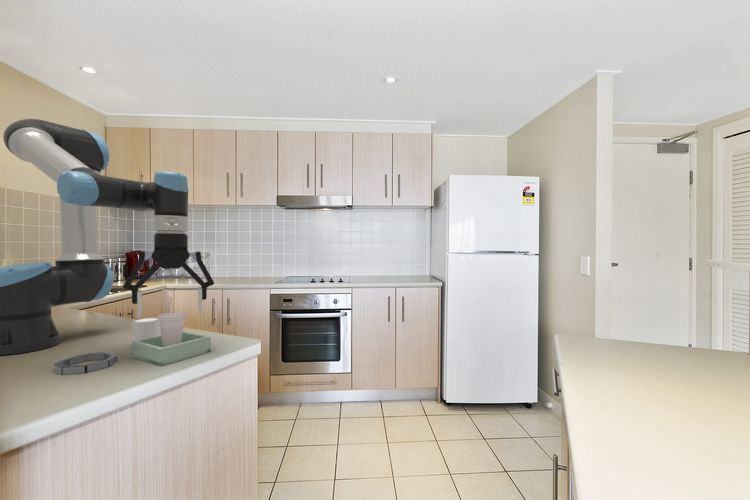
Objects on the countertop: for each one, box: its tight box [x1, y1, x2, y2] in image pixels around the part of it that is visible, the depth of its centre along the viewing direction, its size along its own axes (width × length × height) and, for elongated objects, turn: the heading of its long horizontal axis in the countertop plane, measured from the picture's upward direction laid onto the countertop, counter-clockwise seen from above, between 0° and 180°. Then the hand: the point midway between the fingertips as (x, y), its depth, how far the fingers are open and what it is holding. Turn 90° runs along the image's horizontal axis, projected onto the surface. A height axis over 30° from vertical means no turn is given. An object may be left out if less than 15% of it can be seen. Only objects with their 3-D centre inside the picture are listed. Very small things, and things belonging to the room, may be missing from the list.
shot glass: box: [132, 317, 161, 341], centre depth 101 cm, size 7×7×7 cm
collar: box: [53, 351, 118, 376], centre depth 83 cm, size 11×11×2 cm
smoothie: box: [157, 296, 186, 347], centre depth 91 cm, size 6×6×14 cm
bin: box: [131, 330, 212, 367], centre depth 91 cm, size 13×13×4 cm
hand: (170, 314), depth 91 cm, fingers open, 13 cm apart
